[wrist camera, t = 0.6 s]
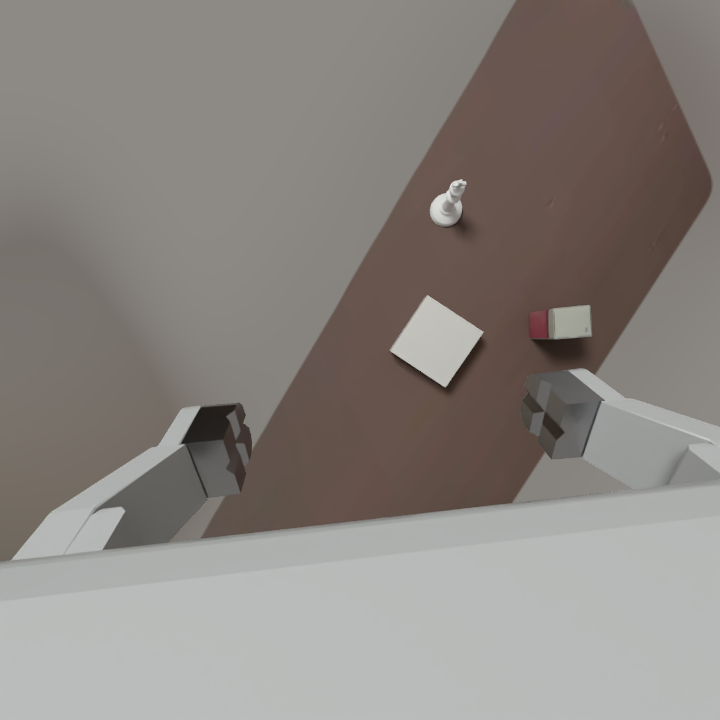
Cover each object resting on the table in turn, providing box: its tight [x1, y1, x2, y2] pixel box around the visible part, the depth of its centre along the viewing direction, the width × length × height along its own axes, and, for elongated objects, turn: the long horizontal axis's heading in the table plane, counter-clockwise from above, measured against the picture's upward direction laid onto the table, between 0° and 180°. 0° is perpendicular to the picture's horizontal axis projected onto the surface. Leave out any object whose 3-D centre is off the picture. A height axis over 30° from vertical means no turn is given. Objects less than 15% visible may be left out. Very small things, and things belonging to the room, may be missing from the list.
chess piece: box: [430, 180, 466, 227], centre depth 49 cm, size 5×5×10 cm
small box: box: [529, 305, 592, 339], centre depth 50 cm, size 5×4×8 cm
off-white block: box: [390, 295, 483, 388], centre depth 54 cm, size 10×10×4 cm
